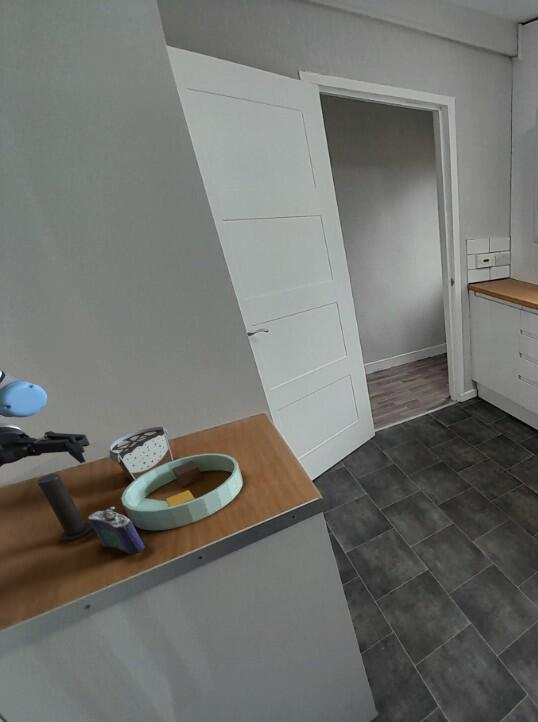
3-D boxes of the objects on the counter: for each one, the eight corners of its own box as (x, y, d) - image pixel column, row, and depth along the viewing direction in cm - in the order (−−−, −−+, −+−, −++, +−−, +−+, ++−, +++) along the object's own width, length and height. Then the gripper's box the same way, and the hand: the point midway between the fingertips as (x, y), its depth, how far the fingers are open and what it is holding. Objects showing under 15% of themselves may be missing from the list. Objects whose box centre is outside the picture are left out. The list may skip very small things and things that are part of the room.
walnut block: (177, 482, 96) (171, 468, 94) (196, 474, 99) (192, 460, 97) (183, 489, 94) (178, 474, 92) (203, 480, 97) (198, 466, 95)
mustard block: (171, 514, 86) (165, 499, 85) (193, 504, 89) (188, 489, 88) (176, 522, 84) (170, 507, 82) (199, 512, 87) (194, 497, 85)
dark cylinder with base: (61, 544, 79) (26, 481, 73) (90, 529, 83) (59, 468, 77) (72, 552, 78) (36, 488, 72) (101, 536, 81) (70, 474, 75)
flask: (103, 553, 78) (79, 509, 73) (121, 541, 80) (98, 499, 76) (138, 565, 75) (115, 521, 71) (155, 553, 78) (134, 510, 73)
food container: (158, 456, 106) (143, 423, 102) (179, 459, 106) (165, 425, 101) (109, 487, 95) (91, 452, 91) (132, 490, 94) (115, 454, 90)
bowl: (112, 511, 88) (102, 490, 86) (213, 463, 105) (206, 445, 102) (161, 546, 79) (151, 524, 77) (262, 488, 96) (257, 468, 94)
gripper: (85, 433, 100) (121, 459, 90) (-85, 487, 80) (-61, 528, 70) (72, 405, 97) (109, 429, 87) (-107, 455, 77) (-86, 493, 67)
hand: (33, 473), depth 79 cm, fingers open, 13 cm apart
